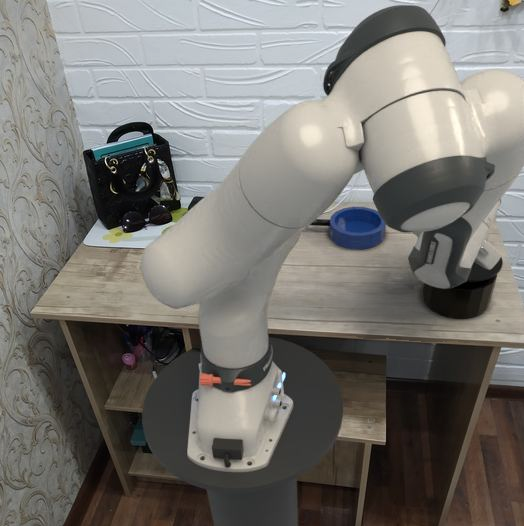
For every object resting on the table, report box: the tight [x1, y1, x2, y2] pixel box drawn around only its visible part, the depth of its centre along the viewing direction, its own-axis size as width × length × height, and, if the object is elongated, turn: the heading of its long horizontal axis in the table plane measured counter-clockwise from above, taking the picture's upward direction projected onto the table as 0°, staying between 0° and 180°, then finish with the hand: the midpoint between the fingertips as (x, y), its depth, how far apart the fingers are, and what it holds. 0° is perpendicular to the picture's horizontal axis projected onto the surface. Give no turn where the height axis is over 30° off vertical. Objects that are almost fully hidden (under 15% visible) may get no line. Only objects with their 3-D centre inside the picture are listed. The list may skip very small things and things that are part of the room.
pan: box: [328, 206, 387, 251], centre depth 141 cm, size 14×14×4 cm
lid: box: [466, 256, 504, 282], centre depth 114 cm, size 15×15×6 cm
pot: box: [422, 274, 498, 320], centre depth 120 cm, size 14×14×8 cm
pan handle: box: [309, 218, 330, 227], centre depth 143 cm, size 2×11×2 cm, turn 81°
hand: (466, 249), depth 114 cm, fingers closed on lid, 2 cm apart
